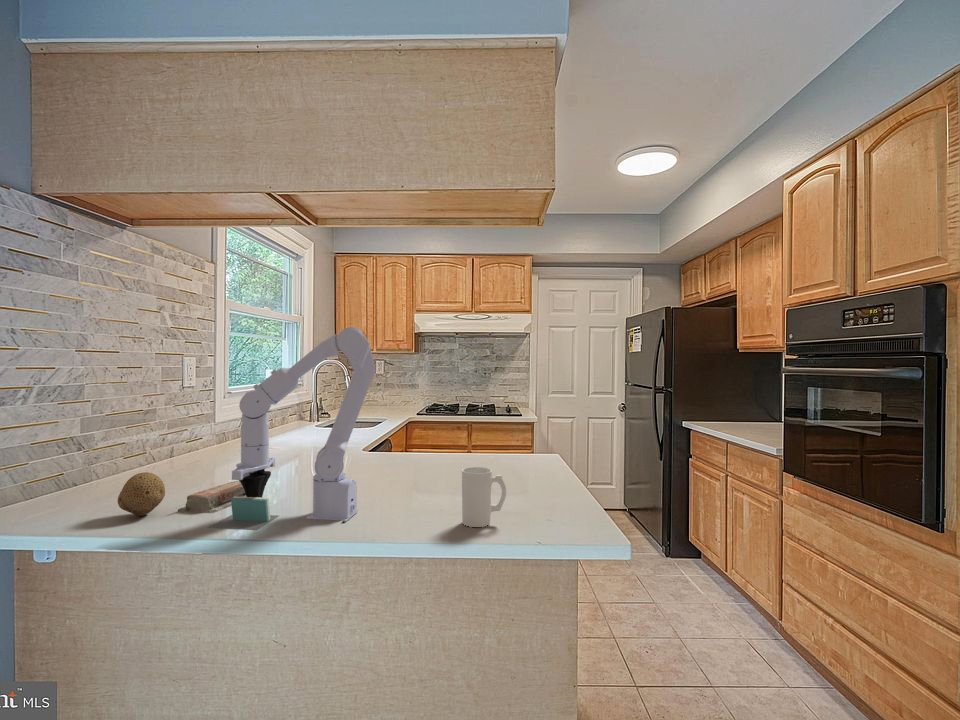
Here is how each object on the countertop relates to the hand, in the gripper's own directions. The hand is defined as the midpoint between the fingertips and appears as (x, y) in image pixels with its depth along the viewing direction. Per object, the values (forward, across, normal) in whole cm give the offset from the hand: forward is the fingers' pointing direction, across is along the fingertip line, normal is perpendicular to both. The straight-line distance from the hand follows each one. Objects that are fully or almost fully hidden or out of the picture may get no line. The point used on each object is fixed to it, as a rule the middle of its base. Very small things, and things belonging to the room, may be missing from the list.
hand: (254, 505), depth 118 cm
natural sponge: (+4, 0, -27) cm, 27 cm away
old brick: (+4, -12, -15) cm, 20 cm away
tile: (+3, +1, 0) cm, 3 cm away
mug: (+4, -6, +51) cm, 52 cm away
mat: (+4, +2, -1) cm, 4 cm away
